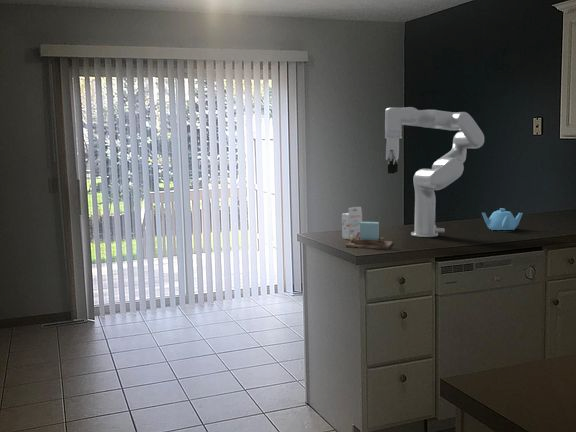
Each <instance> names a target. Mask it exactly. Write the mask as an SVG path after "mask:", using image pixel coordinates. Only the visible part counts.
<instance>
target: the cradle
mask: <svg viewBox="0 0 576 432" xmlns="http://www.w3.org/2000/svg"><path fill="white" fill-rule="evenodd" d="M392 245H393V241H391V240H385V237H382V236H379V240H362V239H360V236H358V237H357V238H355V239H354V235H351V236H350V239H349V242H348V243H346V244H345V248H354V247H358V248H361V249H377V250H378V249H382V250H388V249H390V248H391V246H392Z"/></svg>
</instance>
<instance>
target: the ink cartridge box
mask: <svg viewBox="0 0 576 432" xmlns="http://www.w3.org/2000/svg"><path fill="white" fill-rule="evenodd" d="M347 210H348V212H345V213H341V239H345V240H350V236H351V235H354V240H355V239H356V238H357V237H358V236H360V223H361V222H363V212H362V211H363V210H362V206H353V207H348V209H347Z"/></svg>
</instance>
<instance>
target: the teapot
mask: <svg viewBox="0 0 576 432" xmlns="http://www.w3.org/2000/svg"><path fill="white" fill-rule="evenodd" d="M481 215H482V217H483V219H484V223H485V225H486V226H487V228H488V229H489V230H490V229H491V231H493V230H513V231H515V229H517V226H519V224H520V222H521V218H522V216H523V212H518V214H517V215H516V216H514V215H513V213H512V212H511V211H506V208H503V207H502V208H501V207H500V208H499V210H498V209H497V210H496V211H493V212H492V213H491V215H490V216H489V217H488V216H487V214H486V212H481Z"/></svg>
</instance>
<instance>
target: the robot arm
mask: <svg viewBox="0 0 576 432" xmlns="http://www.w3.org/2000/svg"><path fill="white" fill-rule="evenodd" d="M384 117H385V118H384V139H386V144H385V160H386V161H387V174H395V173H398V169H399V168H398V165H399V164H398V159H399V158H400V157H399V156H400V155H399V154H400V139H402V138H403V137H402V135H403V134H402V132H403V128H402V127H403V126H412V127H421V128H427V129H428V128H429V129H437V130H438V129H439V130H446V131H458V132H456V133H455V135H453V139H452V146H451V147H452V148H451V150H449V151H448V152H447V153H445V154H444V155H442V156H441V157H440V158H438V159H436V161H434V162H433V164H432V165H431V168H419V169H418V170H417V171H415V173H414V175H413V177H412V178H413V187H414V231H411V232H410V235H411V236H413V237H418V238H419V237H420V238H434V237H438V236H439V233H445V228H444V227H442V228H441V227H437V225H436V203H437V201H436V198H437V197H436V194H435V193H436V192H435V191H440V190H442V189H445V188H446V187H448V186H450V184H452V183H454V182H455V181H457V180H458V179H459V178H460V177H461V176H462V175H463V172H464V169H465V167H464V163H465V161H466V159H467V149H480V148H481V147H483V145H484V143H485V135H484V133H483V131H482V129H481V128H480V127H479V125H478V124H477V122H476V121H475V120H474V118H473V117H472V116H471V115H470V114H469V113H468V112H466V111H458V112H456V111H455V112H454V111H453V112H452V111H445V110H438V109H417V108H416V107H413V106H408V107H407V106H406V107H387V108H386V109H385V112H384Z"/></svg>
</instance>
